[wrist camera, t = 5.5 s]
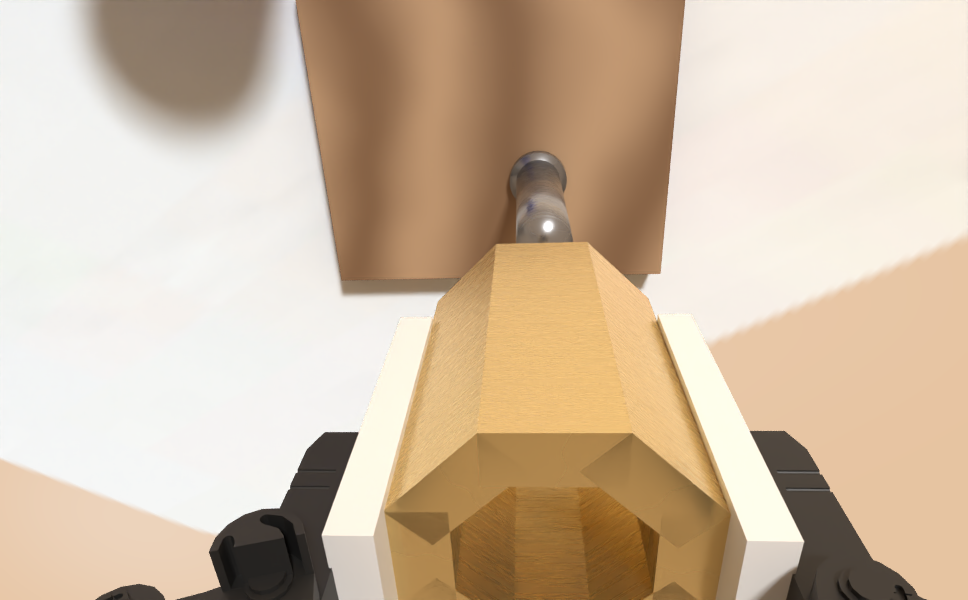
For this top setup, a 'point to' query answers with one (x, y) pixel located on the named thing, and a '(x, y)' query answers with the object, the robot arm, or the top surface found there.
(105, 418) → the top surface
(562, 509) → the bushing
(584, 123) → the board
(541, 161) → the post
